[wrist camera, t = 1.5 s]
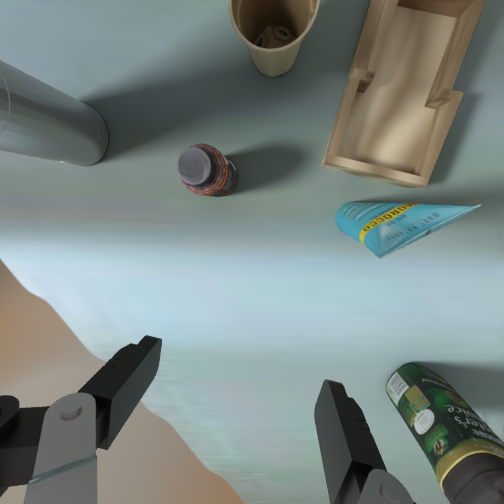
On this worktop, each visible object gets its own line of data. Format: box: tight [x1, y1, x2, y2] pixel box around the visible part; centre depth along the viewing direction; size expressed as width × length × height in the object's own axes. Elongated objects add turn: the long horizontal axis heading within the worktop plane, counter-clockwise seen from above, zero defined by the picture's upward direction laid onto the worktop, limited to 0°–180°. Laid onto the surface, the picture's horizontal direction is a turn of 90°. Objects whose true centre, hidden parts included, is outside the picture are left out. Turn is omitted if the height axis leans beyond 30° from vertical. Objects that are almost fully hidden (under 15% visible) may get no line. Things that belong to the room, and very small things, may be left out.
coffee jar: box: [386, 364, 504, 504], centre depth 31 cm, size 10×8×19 cm
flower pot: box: [229, 0, 320, 77], centre depth 29 cm, size 9×9×9 cm
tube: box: [336, 202, 481, 258], centre depth 27 cm, size 7×5×19 cm, turn 127°
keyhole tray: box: [321, 0, 486, 188], centre depth 30 cm, size 13×21×5 cm, turn 166°
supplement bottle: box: [177, 144, 238, 197], centre depth 31 cm, size 6×6×11 cm
